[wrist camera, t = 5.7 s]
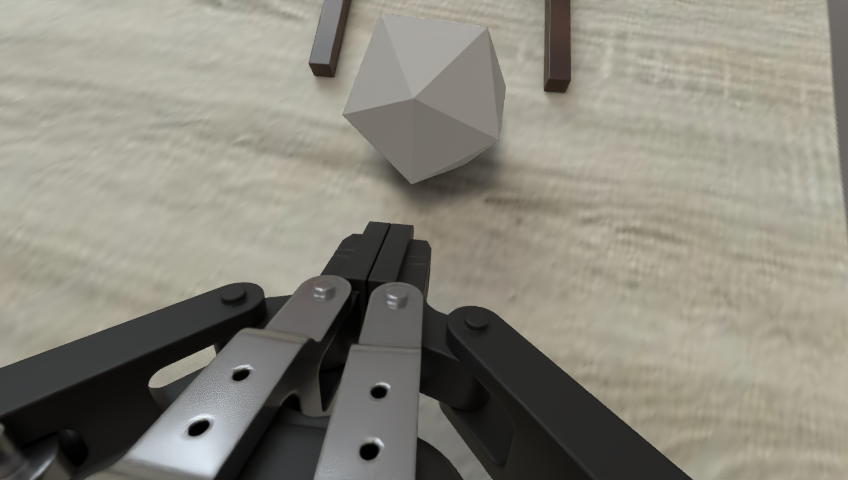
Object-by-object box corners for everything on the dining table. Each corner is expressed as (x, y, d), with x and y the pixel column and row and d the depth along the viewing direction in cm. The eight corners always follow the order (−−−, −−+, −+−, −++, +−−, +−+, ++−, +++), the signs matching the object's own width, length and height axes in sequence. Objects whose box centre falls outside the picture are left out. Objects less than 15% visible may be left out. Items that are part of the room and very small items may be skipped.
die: (508, 104, 26) (447, -51, 20) (549, 173, 20) (476, -25, 14) (406, 159, 29) (322, 35, 22) (412, 236, 22) (296, 92, 16)
